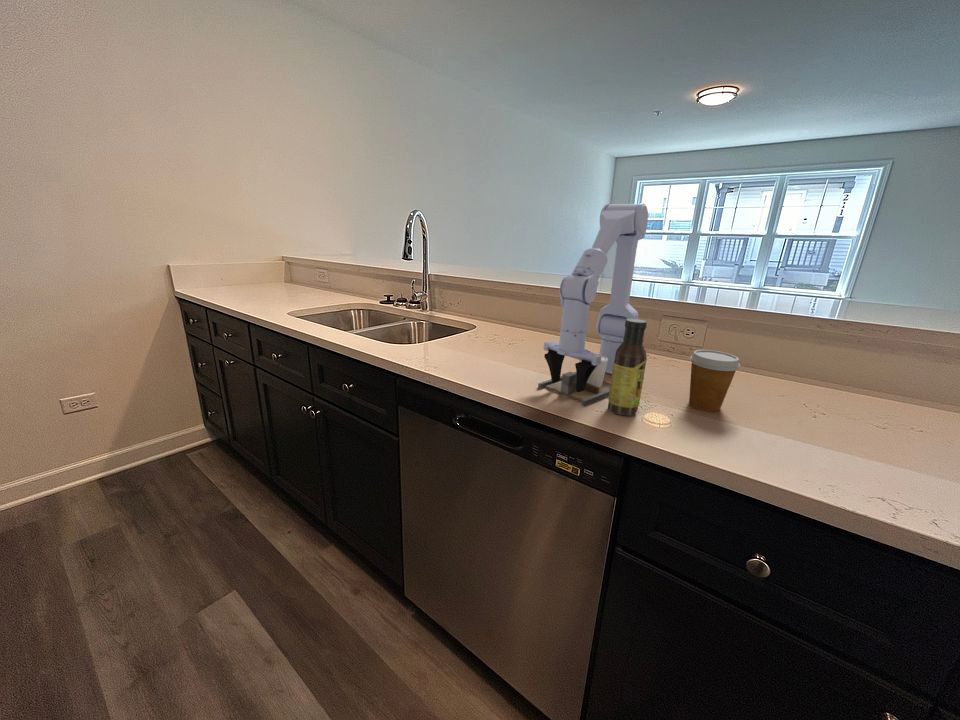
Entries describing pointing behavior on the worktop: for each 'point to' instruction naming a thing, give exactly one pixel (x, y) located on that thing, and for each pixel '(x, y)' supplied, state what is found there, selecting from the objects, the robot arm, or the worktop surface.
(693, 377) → the disposable coffee cup
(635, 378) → the sauce bottle
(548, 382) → the lane rails
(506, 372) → the worktop surface
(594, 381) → the white cup
